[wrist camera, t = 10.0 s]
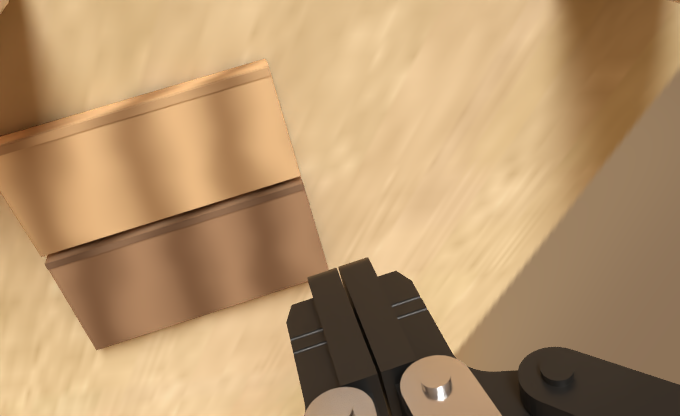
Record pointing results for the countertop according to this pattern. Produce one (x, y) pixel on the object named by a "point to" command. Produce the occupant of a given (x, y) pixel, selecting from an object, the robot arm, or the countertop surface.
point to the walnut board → (190, 263)
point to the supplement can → (3, 4)
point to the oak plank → (146, 158)
